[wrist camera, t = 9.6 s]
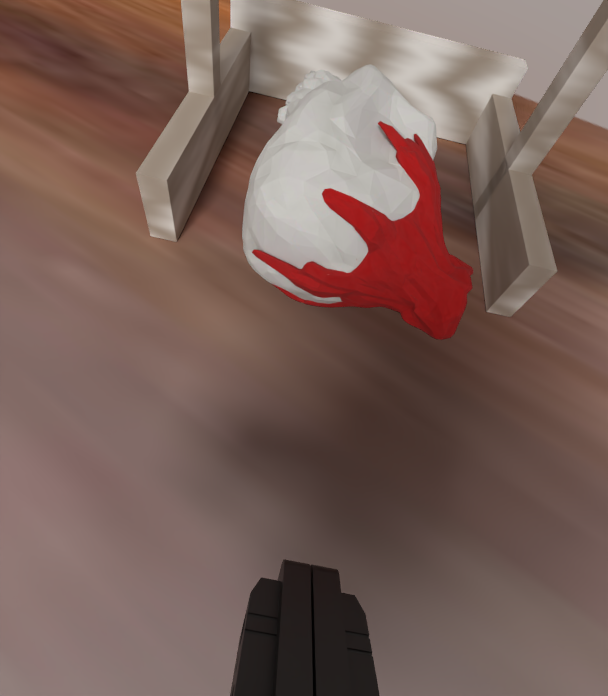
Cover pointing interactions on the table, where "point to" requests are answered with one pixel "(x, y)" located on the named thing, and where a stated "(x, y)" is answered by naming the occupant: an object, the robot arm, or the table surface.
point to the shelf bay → (415, 86)
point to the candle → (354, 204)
